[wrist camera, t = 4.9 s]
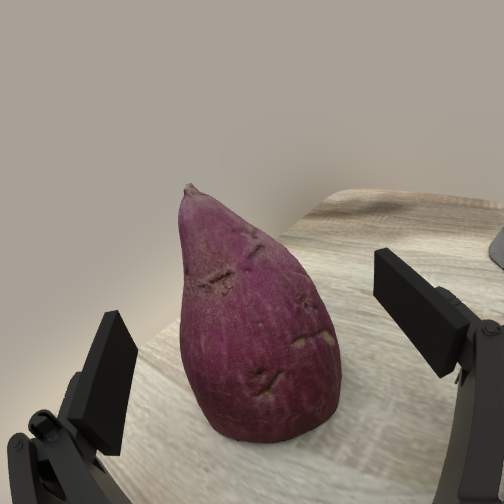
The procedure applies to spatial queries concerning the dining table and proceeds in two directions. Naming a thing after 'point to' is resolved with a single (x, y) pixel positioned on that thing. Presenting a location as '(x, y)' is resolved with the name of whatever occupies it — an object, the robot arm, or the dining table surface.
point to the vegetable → (252, 328)
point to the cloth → (498, 249)
